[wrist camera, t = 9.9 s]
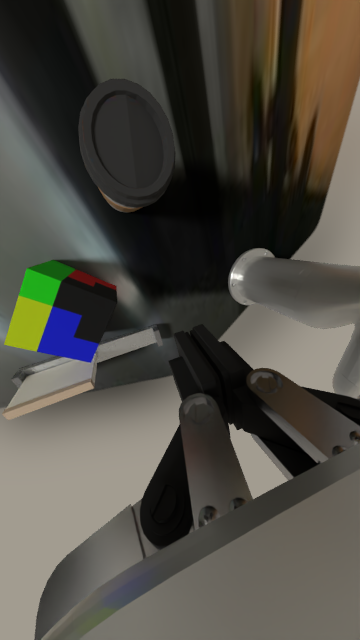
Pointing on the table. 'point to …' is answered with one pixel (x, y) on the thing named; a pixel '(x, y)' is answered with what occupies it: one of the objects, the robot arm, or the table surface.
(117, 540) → the robot arm
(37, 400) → the screen
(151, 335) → the rail
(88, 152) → the coffee cup
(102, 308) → the puzzle toy
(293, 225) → the table surface
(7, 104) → the table surface
